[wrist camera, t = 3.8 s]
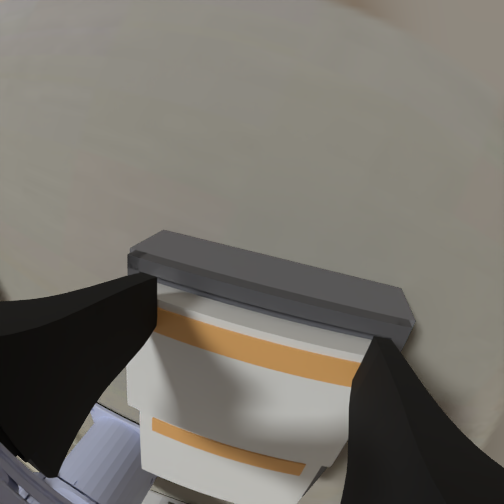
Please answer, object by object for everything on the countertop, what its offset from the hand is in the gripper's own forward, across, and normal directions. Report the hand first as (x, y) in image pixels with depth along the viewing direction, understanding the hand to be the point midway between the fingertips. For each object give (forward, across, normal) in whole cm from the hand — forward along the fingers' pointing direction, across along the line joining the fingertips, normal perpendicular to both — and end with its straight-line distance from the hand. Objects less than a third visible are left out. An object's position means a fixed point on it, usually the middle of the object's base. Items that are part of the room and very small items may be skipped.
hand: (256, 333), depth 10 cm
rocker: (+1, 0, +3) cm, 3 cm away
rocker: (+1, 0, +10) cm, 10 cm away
